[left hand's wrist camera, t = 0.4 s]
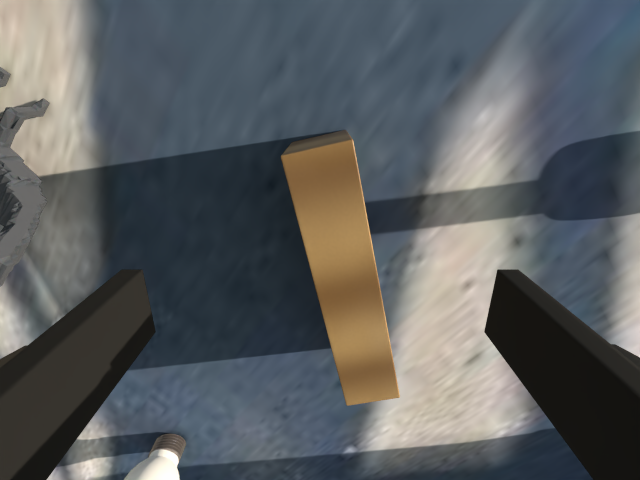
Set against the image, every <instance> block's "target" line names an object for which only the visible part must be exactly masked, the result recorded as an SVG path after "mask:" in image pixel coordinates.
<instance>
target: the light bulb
mask: <svg viewBox="0 0 640 480" xmlns="http://www.w3.org/2000/svg"><path fill="white" fill-rule="evenodd" d="M185 446H186V442H185V440H184V439H183V438H182V437H181V436H178V435H175V434H165V435H162V436H160V437H158V438H157V439H156V442H155V443H154V445H153V448H152V449H151V451H150V453H149V456H148V458H147V459H145V460H144V461H142V462H140V463H139V464H138V465H136V466H135V467H134V468H133V469H132V470H131V471H130V472H129V474H128V475H127V476H126V477H125V479H124V480H179V473H178V469H177V465H178V462H179V461H180V458H181V455H182V453H183V451H184V448H185Z"/></svg>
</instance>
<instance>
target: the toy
mask: <svg viewBox="0 0 640 480" xmlns="http://www.w3.org/2000/svg"><path fill="white" fill-rule="evenodd" d="M10 75H11V74H9V73H8V72H7V71H5V70H4V69H2V68H1V67H0V87H3V86H6V84H7V82H8V79H9V77H10ZM48 105H49V102H48V101H46V100H45V99H41V100H40V101H38V102H36V103H35V104H34V105H32V106H31V107H13V108H12V107H6V109H5V111H4V114H3V116H2V118H1V119H0V224H1V225H3V226H4V228H3V229H2V230H1V232H0V286H2V285H3V283H4V281H5V280H6V278H7V276H8V274H9V272H11V271H12V270H13V267H14V265H16V264H17V263H19V261H20V259H21V257H22V255H23V254H24V252H25V250H26V248H27V246H28V245H29V243H30V240H31V238H32V237H33V234H34V232H35V230H36V228H37V226H38V224H39V222H40V220H38V219H39V216H40V214H41V212H42V210H43V208H44V206H45V205H46V203H47V201H46V198H45V197H44V196H42V192H41V191H42V190H41V188H40V184H41V182H42V181H41V180H40V179H39V178H38V176H37V175H36V174H35V173H34V172H33V171H31V170H30V169H29V168H28V167H27V166H26V165H25V164H24V163H23V162H24V160H23V159H22V158H21V157H20V156H19V155H18V154H16V153H15V152H14V151H13V150H12V149H11V148H10V146H11V144H12V141H13V139H14V136H15V134H16V133H17V132H18V130H19V129H20V127H21V125H22V123H23V122H24V120H26V119H29V118H31V117H41V116H43V115H44V113H45V111H46V109H47V107H48Z"/></svg>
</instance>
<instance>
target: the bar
mask: <svg viewBox="0 0 640 480" xmlns="http://www.w3.org/2000/svg"><path fill="white" fill-rule="evenodd" d="M281 160H282V163H283V167H284V171H285V175H286V179H287V182H288V186H289V190H290V194H291V197H292V201H293V205H294V209H295V213H296V216H297V220H298V224H299V228H300V231H301V235H302V239H303V243H304V247H305V250H306V254H307V258H308V262H309V265H310V269H311V273H312V277H313V281H314V284H315V288H316V292H317V296H318V299H319V303H320V307H321V311H322V315H323V318H324V322H325V326H326V330H327V333H328V337H329V341H330V345H331V349H332V352H333V356H334V360H335V364H336V367H337V371H338V375H339V379H340V383H341V386H342V390H343V394H344V398H345V401H346V405H347V406H348V405H354V404H361V403H367V402H374V401H380V400H387V399H393V398H399V397H400V395H399V390H398V384H397V379H396V373H395V368H394V362H393V357H392V351H391V346H390V340H389V335H388V329H387V324H386V318H385V313H384V307H383V302H382V296H381V291H380V285H379V280H378V274H377V269H376V263H375V258H374V252H373V247H372V241H371V236H370V230H369V224H368V219H367V213H366V208H365V202H364V197H363V191H362V186H361V180H360V175H359V169H358V164H357V158H356V153H355V147H354V142H353V139H352V138H351V136H350V135H349V134H348V132H347V131H346V130H342V131H338V132H334V133H329V134H325V135H321V136H316V137H312V138H308V139H304V140H299V141H295V142H292V143H291V144H290V145H289V146H288V148H287V149H286V150H285V151H284V153H283V154H282V155H281Z"/></svg>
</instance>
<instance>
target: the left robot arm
mask: <svg viewBox="0 0 640 480" xmlns="http://www.w3.org/2000/svg"><path fill="white" fill-rule="evenodd" d="M154 333H155V327H154V322H153V317H152V313H151V308H150V303H149V298H148V294H147V289H146V284H145V279H144V274H143V270H121V271H120V272H118V273H117V274H116V275H115V276H113V277H112V278H111V279H110V280H108V281H107V282H106V283H105V284H103V285H102V286H101V287H100V288H98V289H97V290H96V291H95V292H94V293H92V294H91V295H90V296H89V297H87V298H86V299H85V300H84V301H82V302H81V303H80V304H79V305H77V306H76V307H75V308H74V309H73V310H71V311H70V312H69V313H68V314H66V315H65V316H64V317H63V318H61V319H60V320H59V321H58V322H56V323H55V324H54V325H53V326H51V327H50V328H49V329H48V330H47V331H45V332H44V333H43V334H42V335H40V336H39V337H38V338H37V339H35V340H34V341H33V342H32V343H30V344H29V345H28V346H24V347H22V348H20V349H18V350H16V351H14V352H13V353H11V354H9V355H7V356H5V357H3V358H2V359H0V480H46V479H47V478H48V477H49V475H50V474H51V473H52V471H53V470H54V469H55V467H56V466H57V465H58V463H59V462H60V461H61V459H62V458H63V456H64V455H65V454H66V452H67V451H68V450H69V448H70V447H71V446H72V444H73V443H74V442H75V440H76V439H77V438H78V436H79V435H80V433H81V432H82V431H83V429H84V428H85V427H86V425H87V424H88V423H89V421H90V420H91V419H92V417H93V416H94V415H95V413H96V412H97V411H98V409H99V408H100V406H101V405H102V404H103V402H104V401H105V400H106V398H107V397H108V396H109V394H110V393H111V392H112V390H113V389H114V388H115V386H116V385H117V383H118V382H119V381H120V379H121V378H122V377H123V375H124V374H125V373H126V371H127V370H128V369H129V367H130V366H131V365H132V363H133V362H134V360H135V359H136V358H137V356H138V355H139V354H140V352H141V351H142V350H143V348H144V347H145V346H146V344H147V343H148V342H149V340H150V339H151V337H152V336H153V335H154ZM485 333H486V335H487V336H488V337H489V339H490V340H491V342H492V343H493V344H494V346H495V347H496V348H497V350H498V351H499V352H500V354H501V355H502V356H503V358H504V359H505V360H506V362H507V363H508V365H509V366H510V367H511V369H512V370H513V371H514V373H515V374H516V375H517V377H518V378H519V379H520V381H521V382H522V383H523V385H524V386H525V388H526V389H527V390H528V392H529V393H530V394H531V396H532V397H533V398H534V400H535V401H536V402H537V404H538V405H539V406H540V408H541V409H542V411H543V412H544V413H545V415H546V416H547V417H548V419H549V420H550V421H551V423H552V424H553V425H554V427H555V428H556V429H557V431H558V432H559V434H560V435H561V436H562V438H563V439H564V440H565V442H566V443H567V444H568V446H569V447H570V448H571V450H572V451H573V452H574V454H575V455H576V456H577V458H578V459H579V461H580V462H581V463H582V465H583V466H584V467H585V469H586V470H587V471H588V473H589V474H590V475H591V477H592V478H593V479H594V480H640V358H639V357H638V356H636V355H634V354H632V353H630V352H628V351H626V350H625V349H623V348H621V347H619V346H617V345H615V344H610V343H608V342H607V341H606V340H605V339H603V338H602V337H601V336H600V335H598V334H597V333H596V332H595V331H593V330H592V329H591V328H590V327H589V326H587V325H586V324H585V323H584V322H582V321H581V320H580V319H579V318H577V317H576V316H575V315H574V314H572V313H571V312H570V311H569V310H567V309H566V308H565V307H564V306H563V305H561V304H560V303H559V302H558V301H556V300H555V299H554V298H553V297H551V296H550V295H549V294H548V293H546V292H545V291H544V290H543V289H542V288H540V287H539V286H538V285H537V284H535V283H534V282H533V281H532V280H530V279H529V278H528V277H527V276H525V275H524V274H523V273H522V272H520V271H519V270H497V274H496V279H495V284H494V289H493V293H492V298H491V303H490V308H489V313H488V317H487V322H486V327H485Z"/></svg>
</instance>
